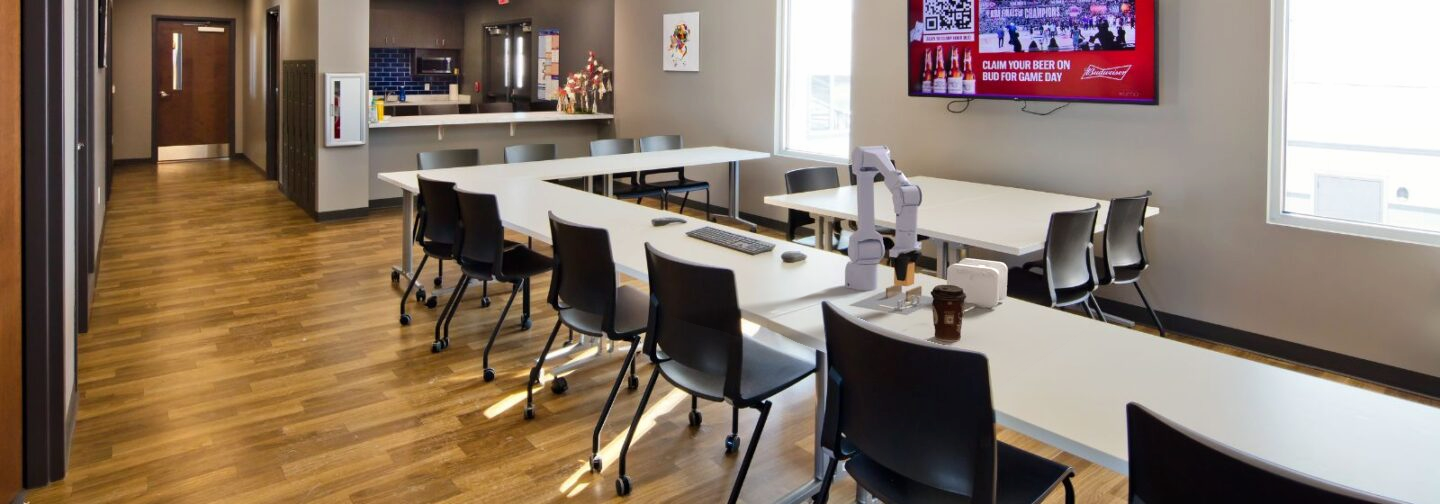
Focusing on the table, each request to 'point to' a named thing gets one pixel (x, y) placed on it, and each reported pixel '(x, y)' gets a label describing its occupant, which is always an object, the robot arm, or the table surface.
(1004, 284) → the cable organizer
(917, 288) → the end holder
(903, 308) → the mat
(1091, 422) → the table surface
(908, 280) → the orange rectangular block
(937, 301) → the coffee cup
